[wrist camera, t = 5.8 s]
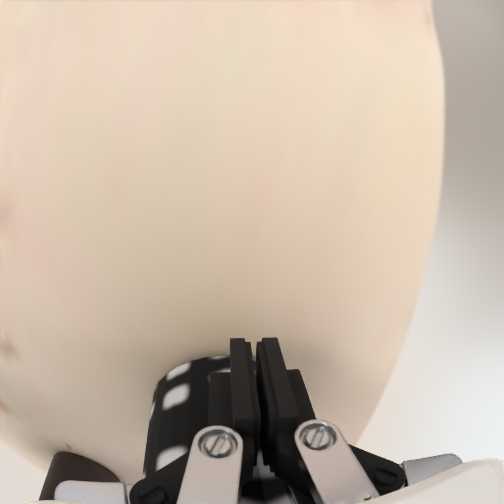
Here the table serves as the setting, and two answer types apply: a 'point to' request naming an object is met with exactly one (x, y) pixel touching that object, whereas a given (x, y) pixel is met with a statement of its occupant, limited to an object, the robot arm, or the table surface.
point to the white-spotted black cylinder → (197, 426)
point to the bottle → (73, 473)
